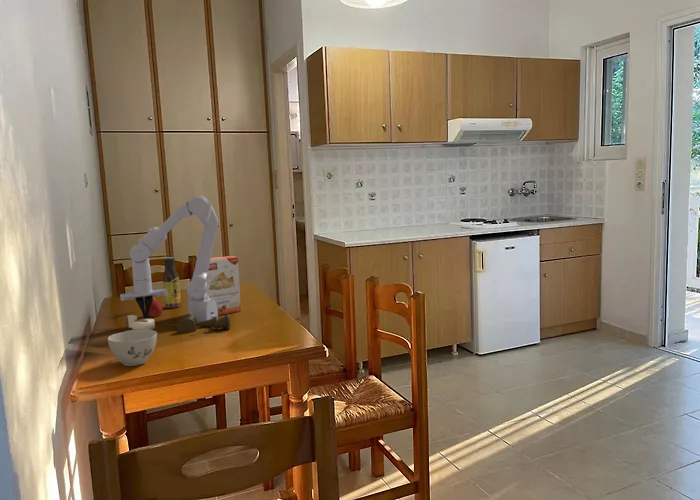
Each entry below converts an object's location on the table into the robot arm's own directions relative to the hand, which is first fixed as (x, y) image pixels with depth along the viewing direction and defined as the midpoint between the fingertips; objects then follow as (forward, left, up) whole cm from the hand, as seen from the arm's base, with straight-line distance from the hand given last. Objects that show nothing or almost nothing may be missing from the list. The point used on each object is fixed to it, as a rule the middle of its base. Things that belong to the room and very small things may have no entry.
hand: (145, 318), depth 187 cm
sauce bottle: (+15, -29, -4) cm, 32 cm away
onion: (+7, -11, -4) cm, 13 cm away
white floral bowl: (-24, +28, -4) cm, 38 cm away
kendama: (-21, -2, -4) cm, 22 cm away
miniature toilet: (-2, +4, -2) cm, 5 cm away
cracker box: (-12, -25, -4) cm, 28 cm away
